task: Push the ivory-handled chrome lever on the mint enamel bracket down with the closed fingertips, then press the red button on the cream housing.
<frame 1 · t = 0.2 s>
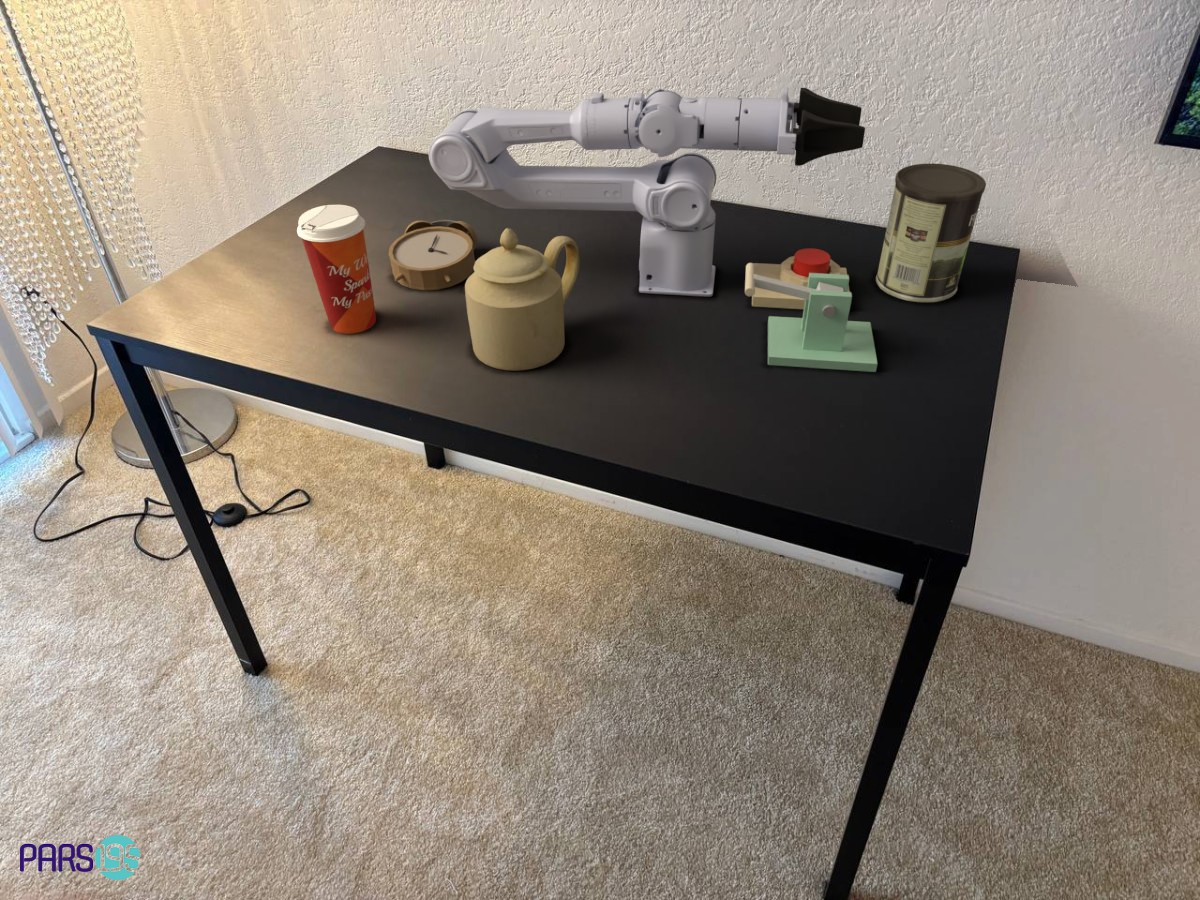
hand: (862, 126, 97), 21 cm above the table, tool horizontal, fingers open, 7 cm apart
paper cup: (354, 323, 108), on the table
bracket: (819, 347, 101), on the table
coffee can: (915, 284, 112), on the table
lever: (792, 289, 97), point 7 cm above the table, hinge at 12.0°
alarm clock: (437, 265, 119), on the table
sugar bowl: (524, 338, 104), on the table
red button: (811, 263, 108), point 4 cm above the table, slide at 0.1 cm
button housing: (799, 292, 111), on the table
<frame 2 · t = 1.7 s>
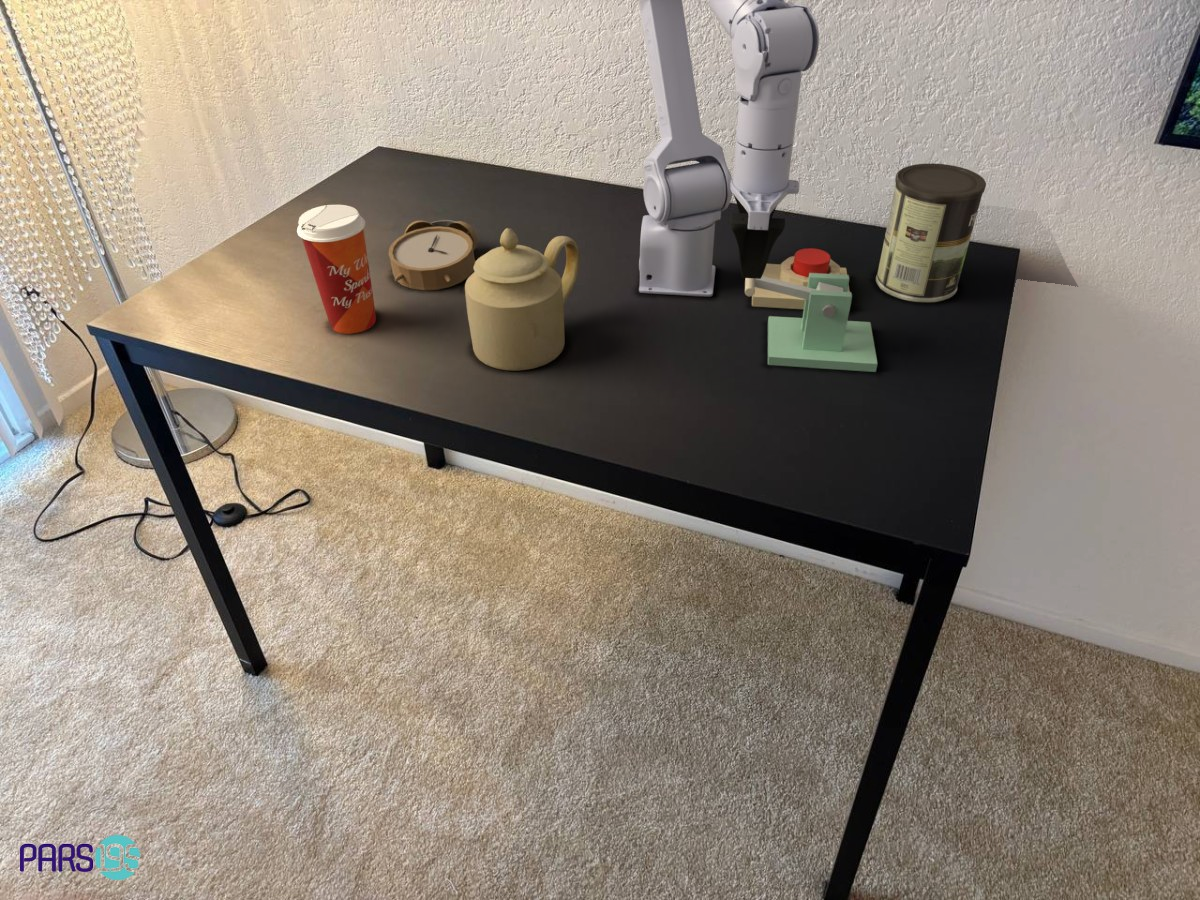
hand: (751, 262, 95), 10 cm above the table, tool pointing down, fingers open, 6 cm apart
nothing on the table moved.
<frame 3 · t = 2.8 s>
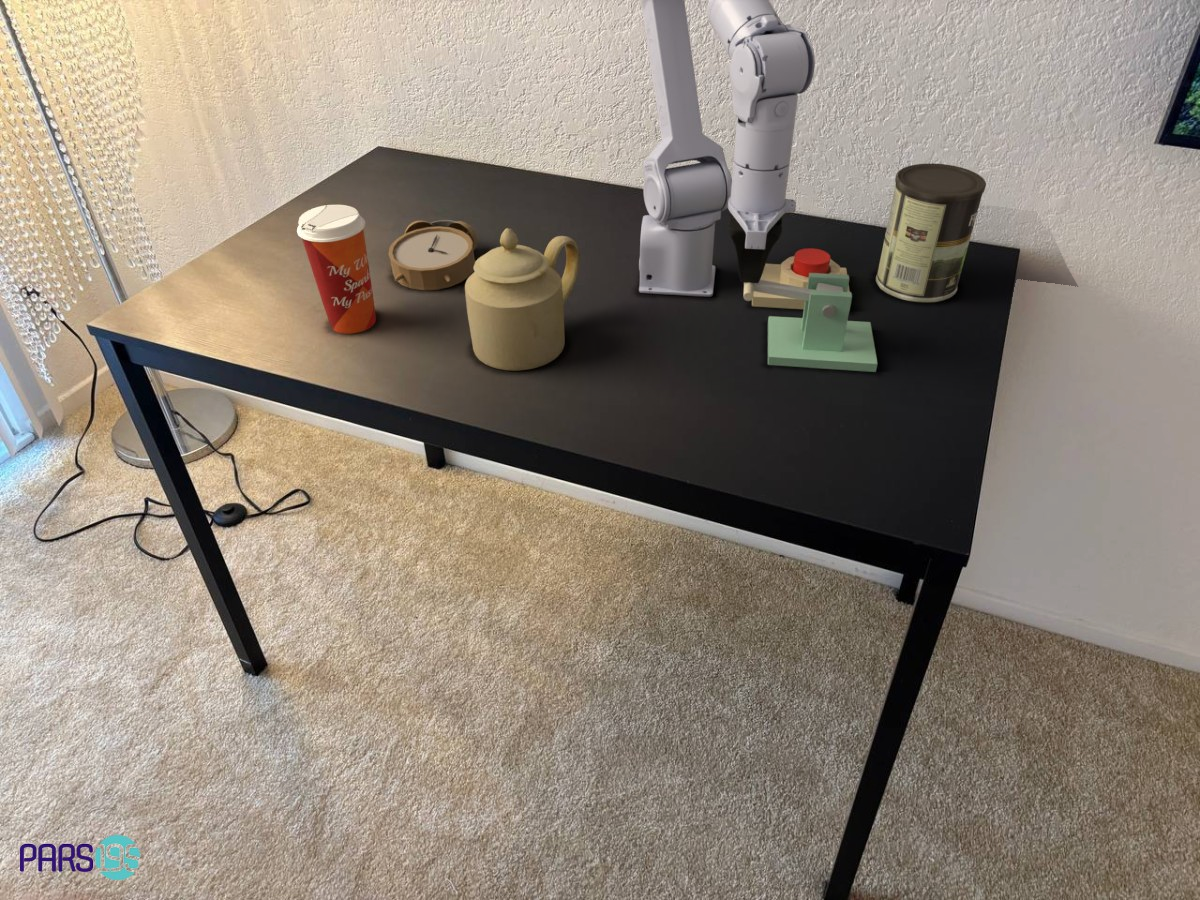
hand: (749, 279, 97), 8 cm above the table, tool pointing down, fingers closed, pressing on lever
lever: (792, 291, 97), point 7 cm above the table, hinge at 8.3°, touching gripper
everything else where it was.
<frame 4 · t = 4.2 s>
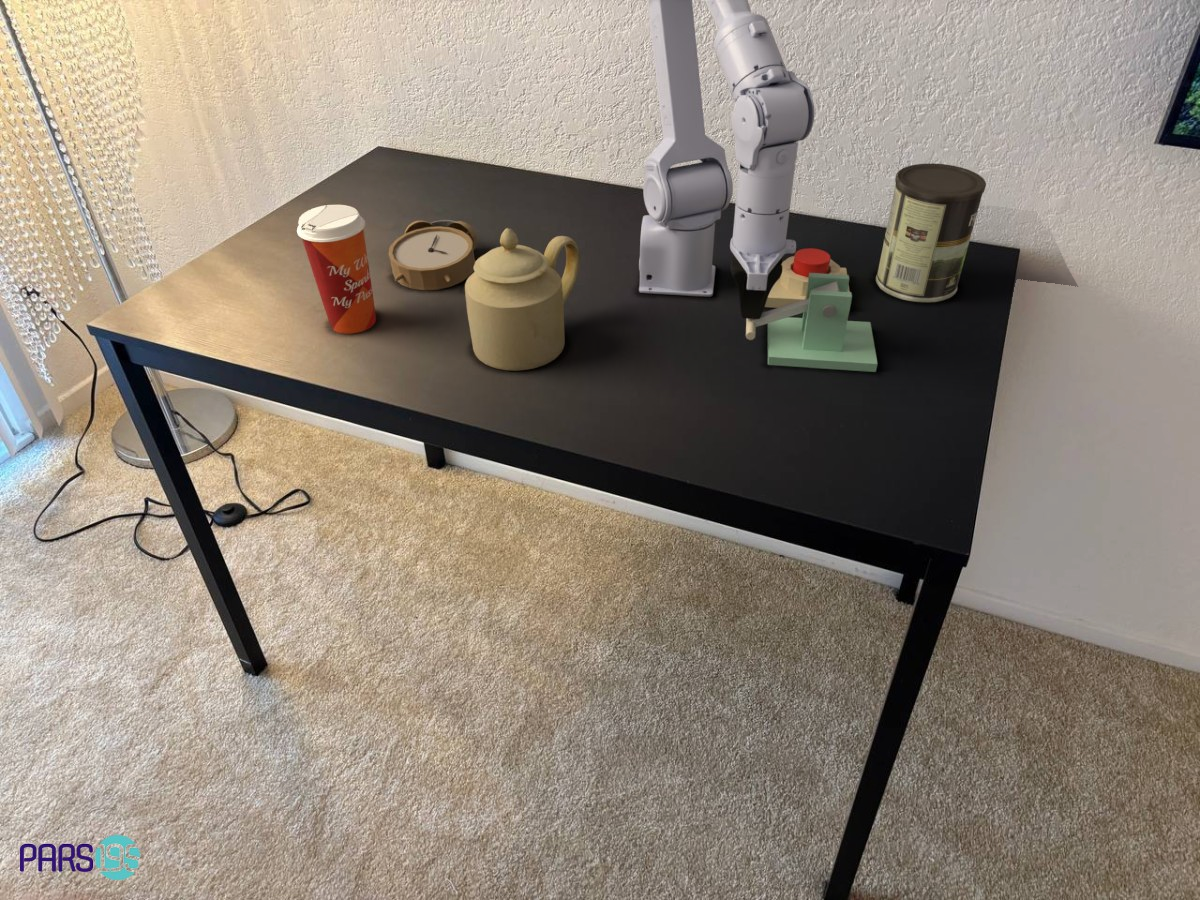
hand: (750, 315, 100), 4 cm above the table, tool pointing down, fingers closed, pressing on lever
lever: (792, 309, 98), point 5 cm above the table, hinge at -24.2°, touching gripper
everything else where it was.
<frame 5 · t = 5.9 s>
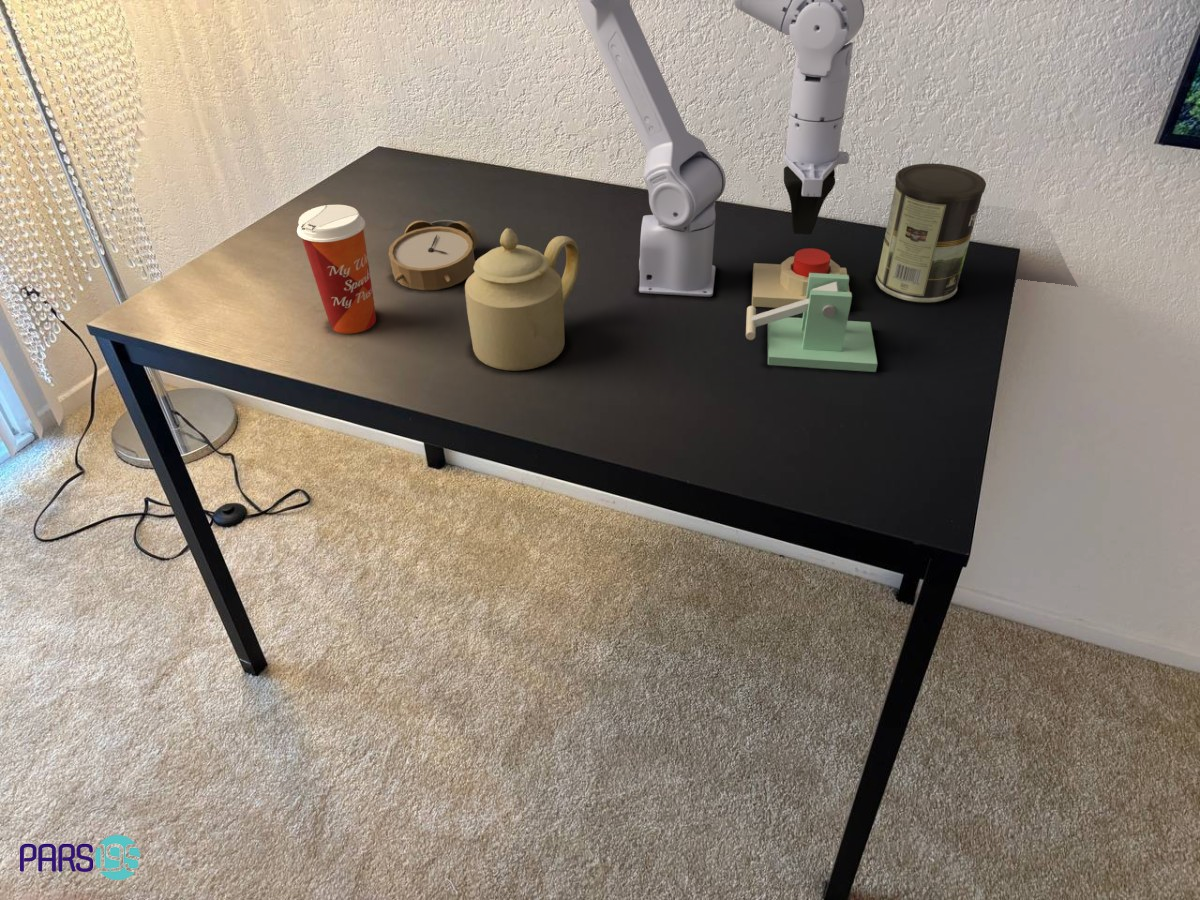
hand: (802, 231, 101), 10 cm above the table, tool pointing down, fingers closed
lever: (792, 309, 98), point 5 cm above the table, hinge at -24.2°
everything else where it was.
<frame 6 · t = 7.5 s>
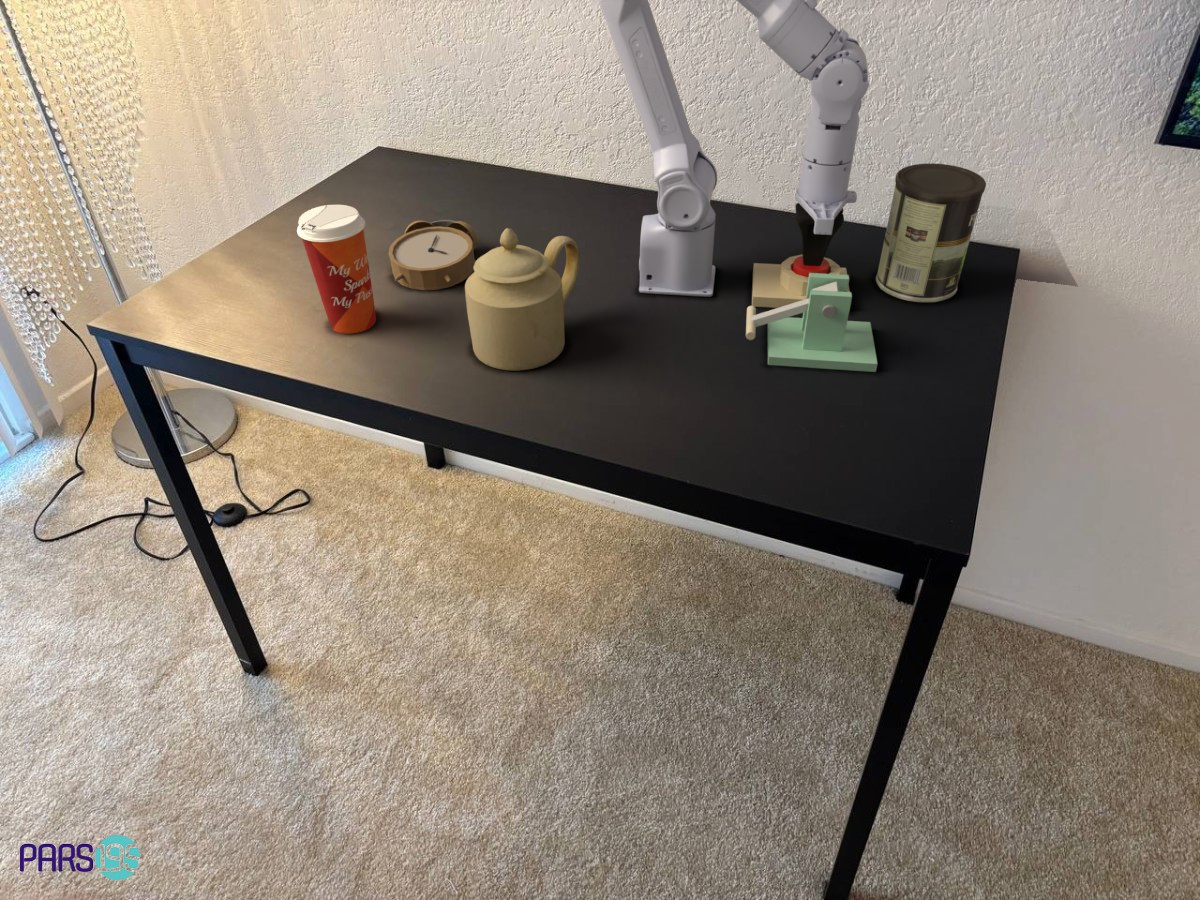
hand: (811, 263, 108), 4 cm above the table, tool pointing down, fingers closed, pressing on red button
red button: (810, 270, 109), point 3 cm above the table, slide at -0.9 cm, touching gripper
everything else where it was.
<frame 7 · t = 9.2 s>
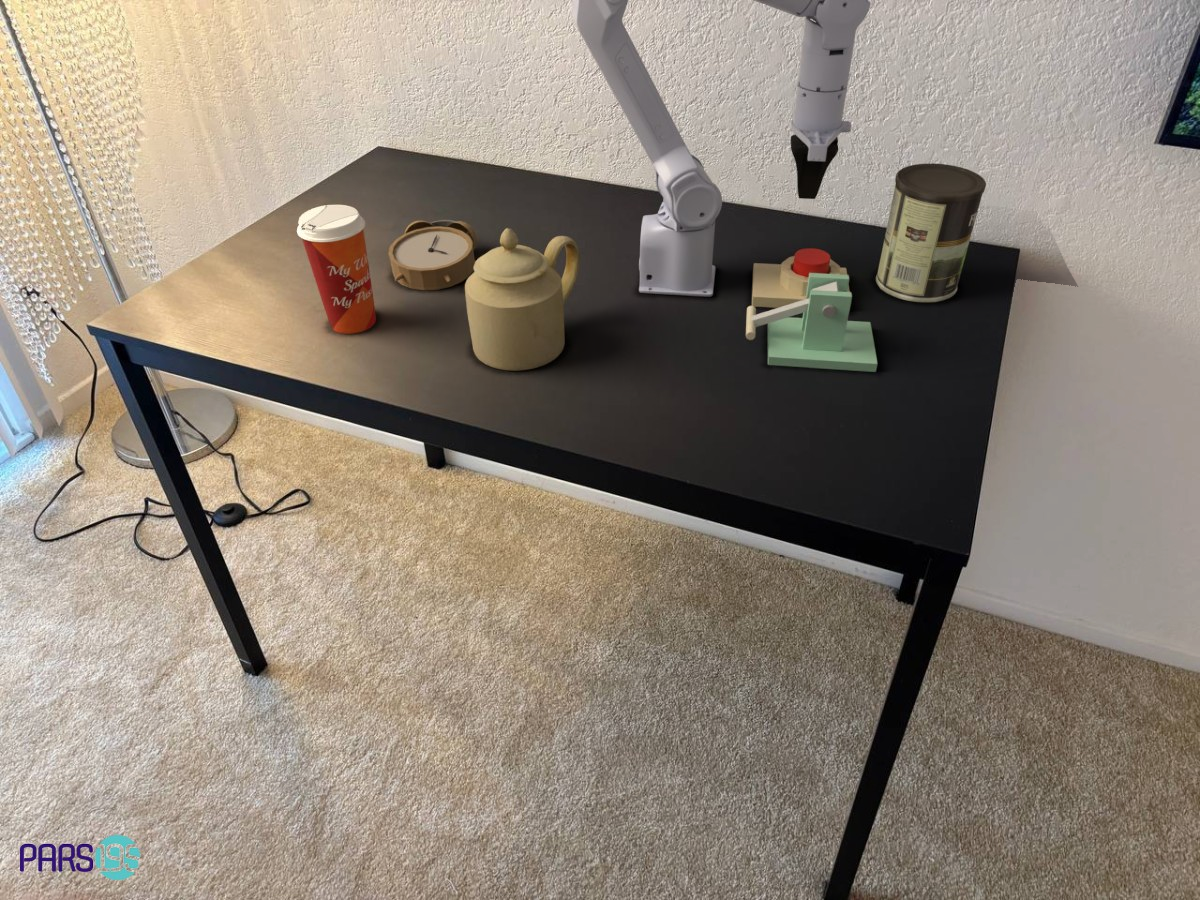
hand: (806, 196, 109), 10 cm above the table, tool pointing down, fingers closed
red button: (811, 263, 108), point 4 cm above the table, slide at 0.1 cm
everything else where it was.
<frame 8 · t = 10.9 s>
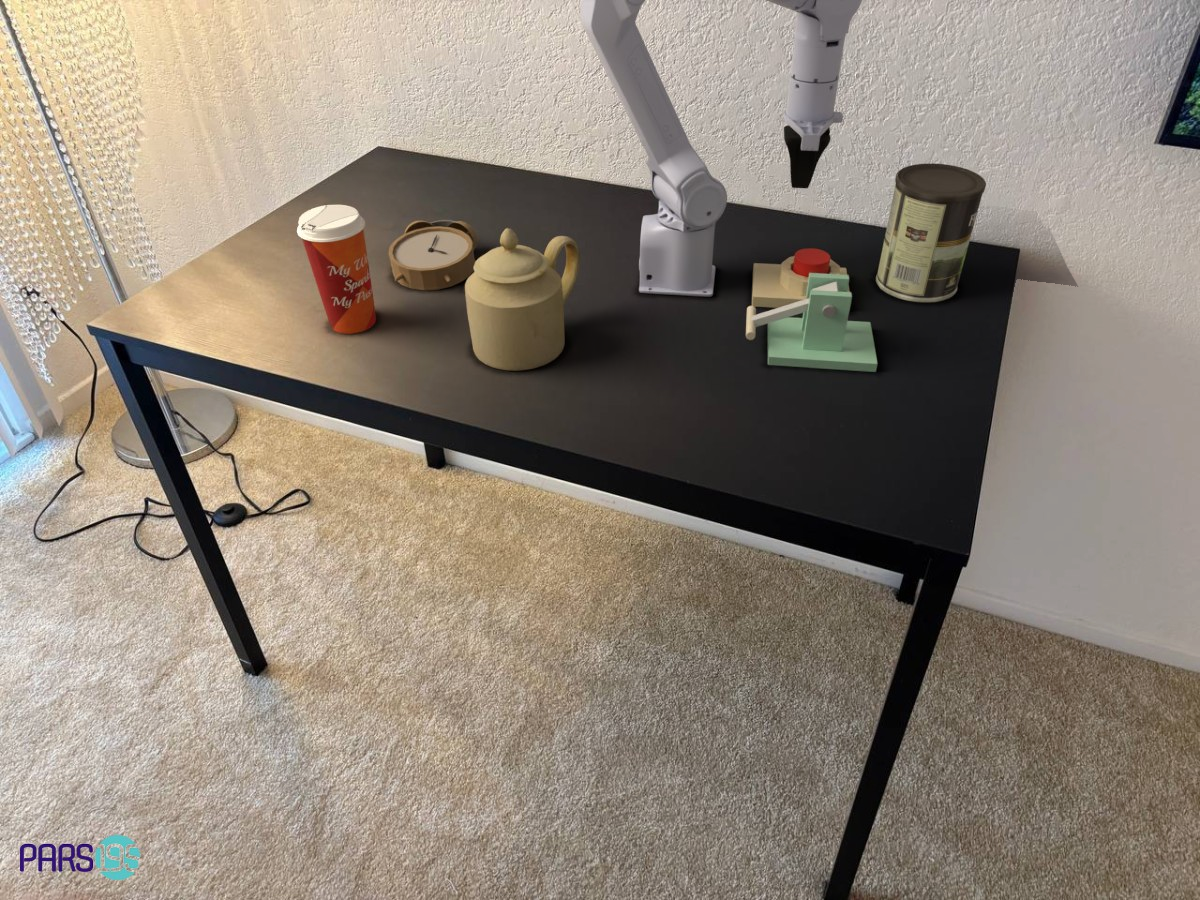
hand: (799, 186, 111), 10 cm above the table, tool pointing down, fingers closed
nothing on the table moved.
at the end: lever at -24° (first picture: +12°); red button pushed in 1.4 cm at the most during the clip, back to where it started at the end; red button slide at 0.1 cm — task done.
